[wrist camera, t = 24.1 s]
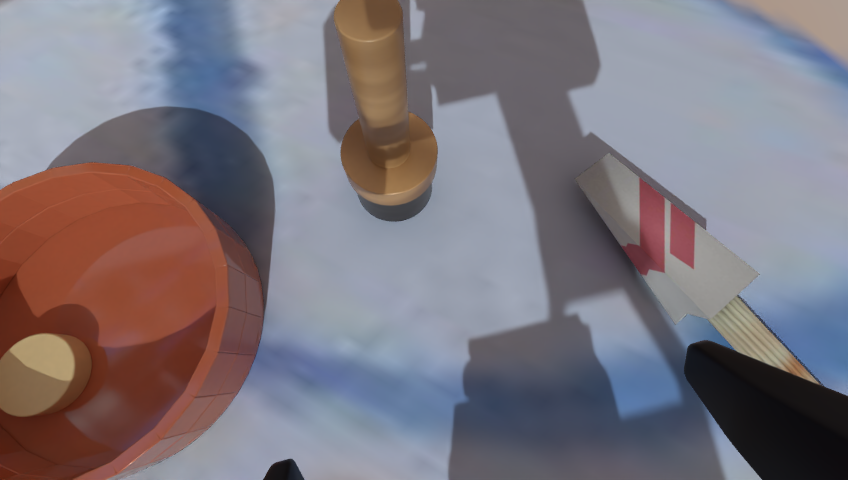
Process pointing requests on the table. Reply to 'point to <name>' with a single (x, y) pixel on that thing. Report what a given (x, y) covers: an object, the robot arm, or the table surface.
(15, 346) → the biscuit piece
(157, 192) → the terracotta bowl
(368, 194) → the dish brush
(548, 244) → the table surface
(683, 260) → the paintbrush
